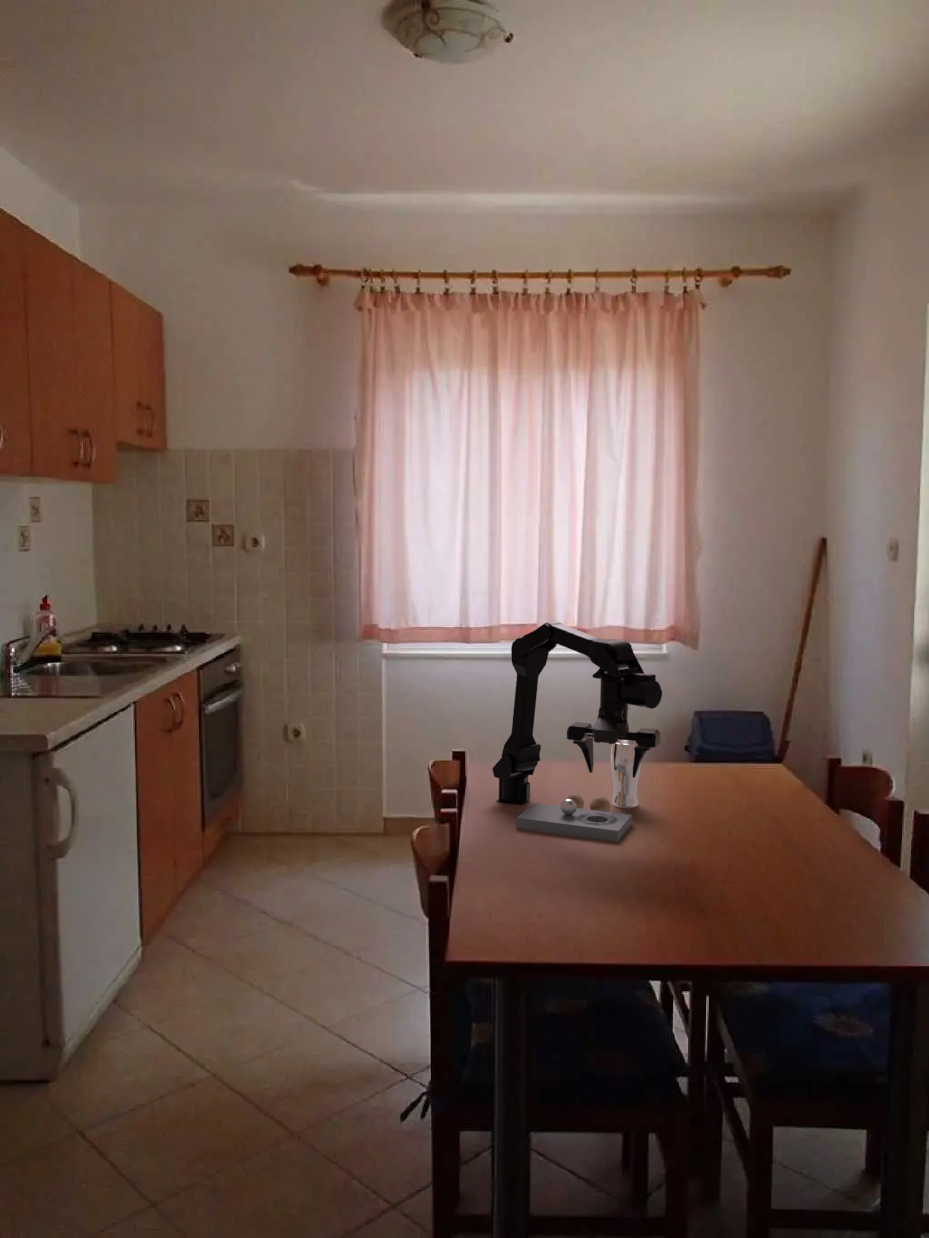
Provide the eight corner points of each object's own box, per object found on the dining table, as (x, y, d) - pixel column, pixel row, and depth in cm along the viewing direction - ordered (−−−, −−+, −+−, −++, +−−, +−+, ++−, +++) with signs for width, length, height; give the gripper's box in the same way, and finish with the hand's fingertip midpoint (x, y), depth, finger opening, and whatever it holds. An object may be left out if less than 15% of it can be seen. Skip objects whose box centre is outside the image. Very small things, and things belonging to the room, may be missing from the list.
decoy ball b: (587, 817, 207) (587, 798, 207) (592, 812, 211) (593, 792, 211) (607, 820, 205) (607, 800, 205) (612, 814, 209) (612, 795, 209)
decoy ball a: (561, 814, 209) (561, 795, 209) (567, 809, 213) (567, 790, 213) (580, 817, 208) (581, 797, 207) (586, 811, 212) (586, 792, 211)
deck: (516, 829, 199) (516, 817, 199) (534, 813, 210) (534, 802, 210) (618, 842, 190) (618, 830, 190) (631, 825, 201) (631, 814, 201)
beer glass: (642, 809, 214) (643, 744, 212) (611, 809, 214) (613, 744, 212) (637, 800, 221) (638, 738, 219) (607, 800, 221) (608, 738, 219)
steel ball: (555, 806, 200) (567, 798, 199) (560, 801, 203) (572, 793, 202) (564, 820, 199) (576, 812, 198) (569, 815, 203) (582, 807, 201)
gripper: (559, 704, 191) (558, 779, 193) (650, 711, 184) (648, 789, 185) (574, 695, 201) (573, 766, 203) (661, 702, 194) (659, 776, 196)
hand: (612, 774), depth 196 cm, fingers open, 9 cm apart
